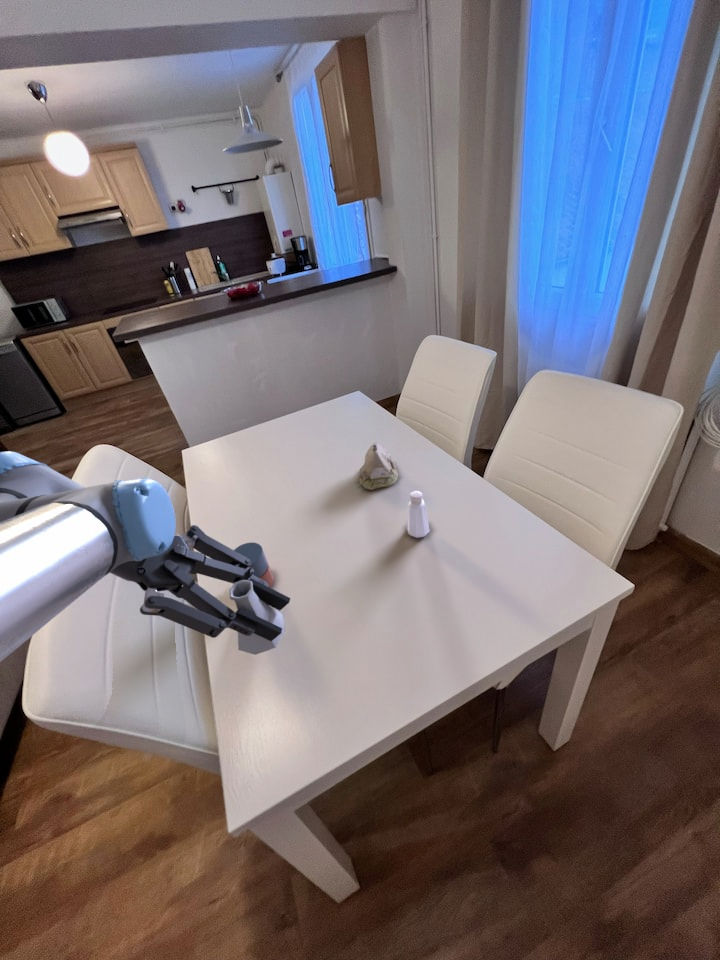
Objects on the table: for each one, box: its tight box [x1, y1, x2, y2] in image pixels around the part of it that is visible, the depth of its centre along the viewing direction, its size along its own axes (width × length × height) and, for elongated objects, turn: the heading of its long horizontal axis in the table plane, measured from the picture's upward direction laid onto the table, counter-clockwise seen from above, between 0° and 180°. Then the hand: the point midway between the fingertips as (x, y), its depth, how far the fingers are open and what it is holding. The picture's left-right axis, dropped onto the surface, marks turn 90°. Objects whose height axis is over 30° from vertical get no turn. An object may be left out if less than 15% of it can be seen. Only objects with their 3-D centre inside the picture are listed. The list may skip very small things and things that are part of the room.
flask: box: [229, 580, 286, 656], centre depth 56 cm, size 7×7×10 cm
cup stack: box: [233, 542, 275, 589], centre depth 87 cm, size 7×7×9 cm
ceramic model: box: [358, 442, 399, 491], centre depth 114 cm, size 14×11×10 cm
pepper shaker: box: [406, 490, 431, 539], centre depth 93 cm, size 5×5×11 cm
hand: (280, 619), depth 57 cm, fingers closed on flask, 4 cm apart
